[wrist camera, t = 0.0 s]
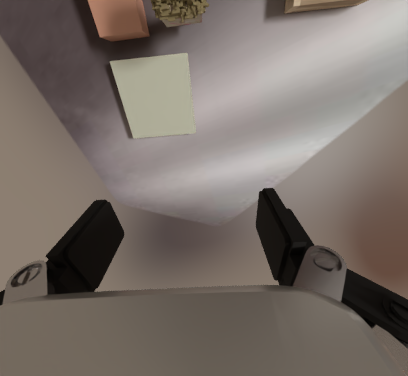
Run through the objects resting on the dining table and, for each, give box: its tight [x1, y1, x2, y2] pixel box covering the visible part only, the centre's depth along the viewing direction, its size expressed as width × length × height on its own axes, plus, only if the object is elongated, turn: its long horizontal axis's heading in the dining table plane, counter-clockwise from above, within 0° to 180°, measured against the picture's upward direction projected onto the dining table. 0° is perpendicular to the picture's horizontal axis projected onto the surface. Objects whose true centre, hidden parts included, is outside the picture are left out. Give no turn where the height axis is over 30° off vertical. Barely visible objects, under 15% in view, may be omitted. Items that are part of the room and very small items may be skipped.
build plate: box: [110, 53, 196, 139], centre depth 35 cm, size 14×14×2 cm
